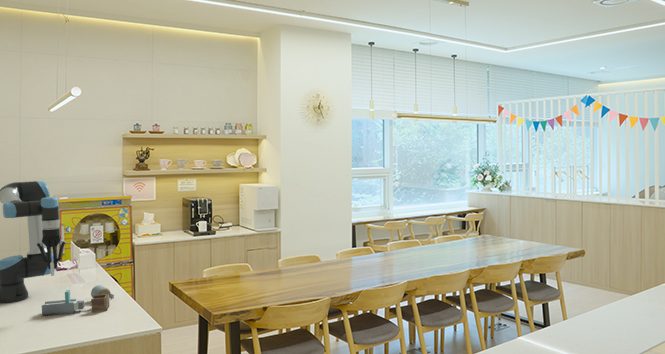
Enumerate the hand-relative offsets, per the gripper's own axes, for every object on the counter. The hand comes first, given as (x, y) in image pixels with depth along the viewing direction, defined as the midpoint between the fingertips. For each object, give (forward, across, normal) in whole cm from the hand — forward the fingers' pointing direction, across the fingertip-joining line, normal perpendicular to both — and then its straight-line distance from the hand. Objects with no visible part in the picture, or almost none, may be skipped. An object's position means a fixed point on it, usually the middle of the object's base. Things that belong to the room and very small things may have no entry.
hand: (53, 275), depth 243 cm
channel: (+20, +2, 0) cm, 20 cm away
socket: (+20, +21, 0) cm, 29 cm away
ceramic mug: (+20, +19, +18) cm, 33 cm away
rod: (+18, +4, 0) cm, 19 cm away
